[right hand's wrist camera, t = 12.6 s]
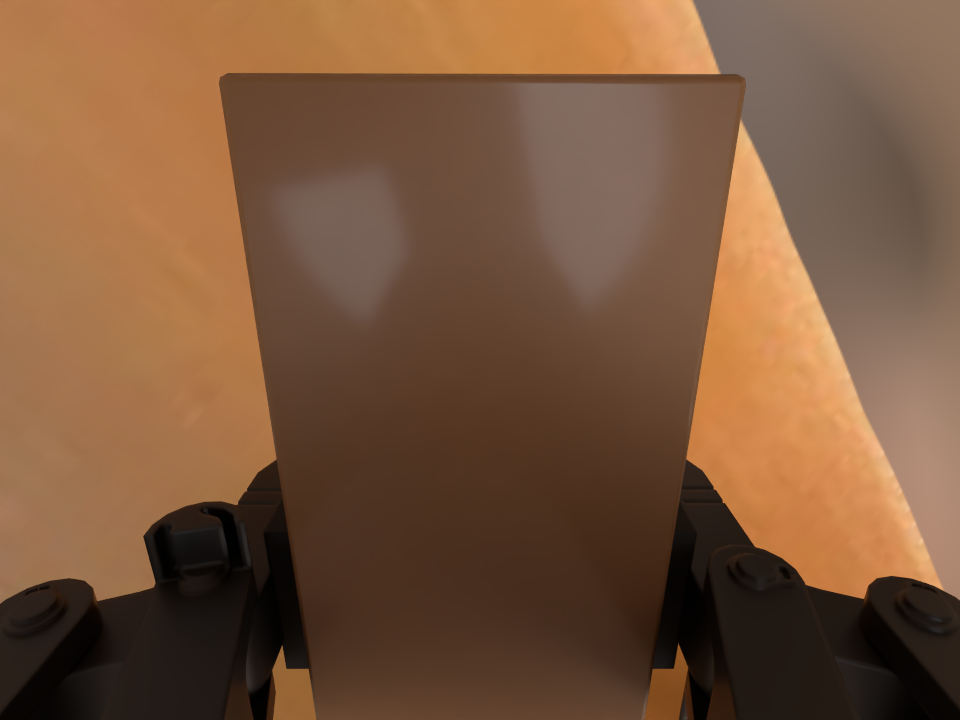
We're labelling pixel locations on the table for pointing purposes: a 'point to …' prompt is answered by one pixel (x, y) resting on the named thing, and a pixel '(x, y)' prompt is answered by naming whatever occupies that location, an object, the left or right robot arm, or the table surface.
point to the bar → (481, 371)
